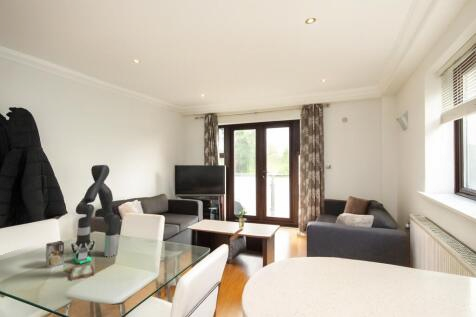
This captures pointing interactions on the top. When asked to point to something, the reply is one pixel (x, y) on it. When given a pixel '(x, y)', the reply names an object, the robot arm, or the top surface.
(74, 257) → the camera mount
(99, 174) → the robot arm
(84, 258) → the housing
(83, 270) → the walnut stand
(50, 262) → the coffee box
